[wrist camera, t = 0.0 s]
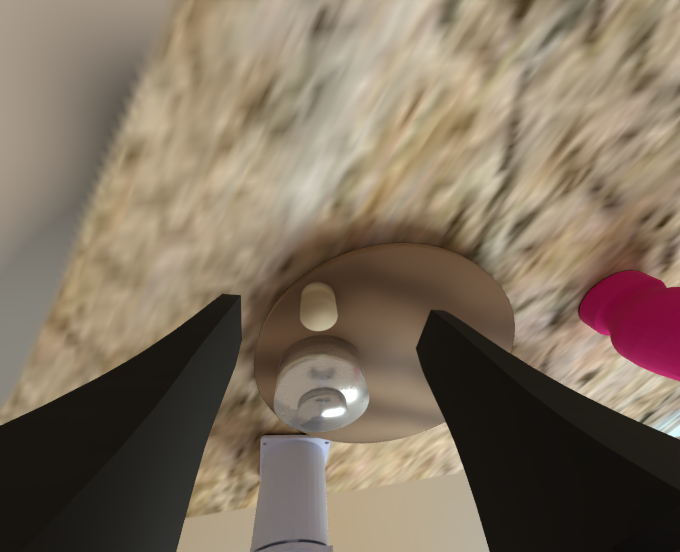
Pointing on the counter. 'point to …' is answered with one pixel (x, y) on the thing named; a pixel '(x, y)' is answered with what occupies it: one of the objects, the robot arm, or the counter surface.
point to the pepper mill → (638, 319)
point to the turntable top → (383, 327)
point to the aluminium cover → (320, 384)
